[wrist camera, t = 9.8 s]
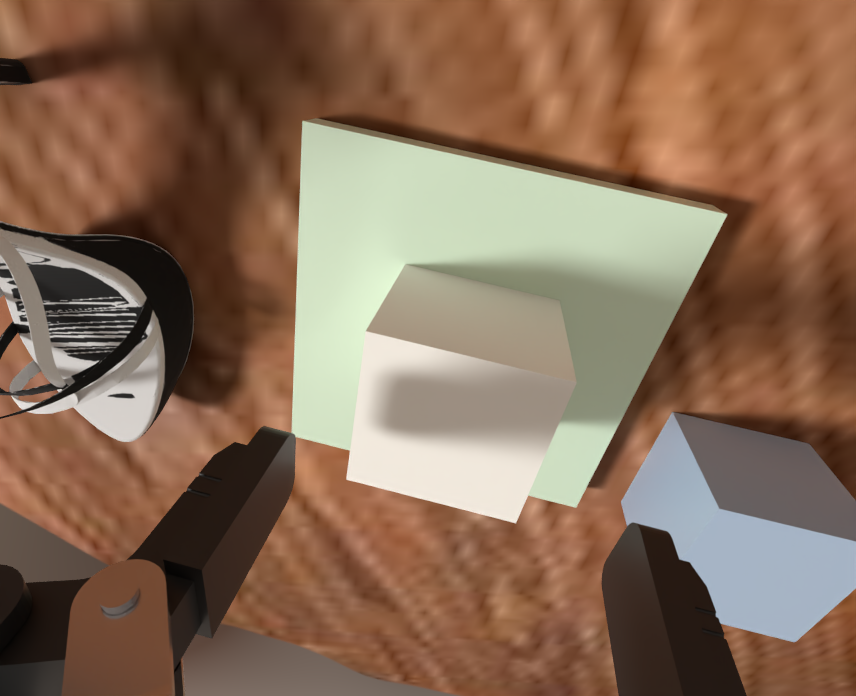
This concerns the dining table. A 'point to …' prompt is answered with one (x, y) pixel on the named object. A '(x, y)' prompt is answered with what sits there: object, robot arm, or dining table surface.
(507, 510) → the white cube
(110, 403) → the sandal
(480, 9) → the dining table surface
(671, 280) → the base plate
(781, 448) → the brick top
